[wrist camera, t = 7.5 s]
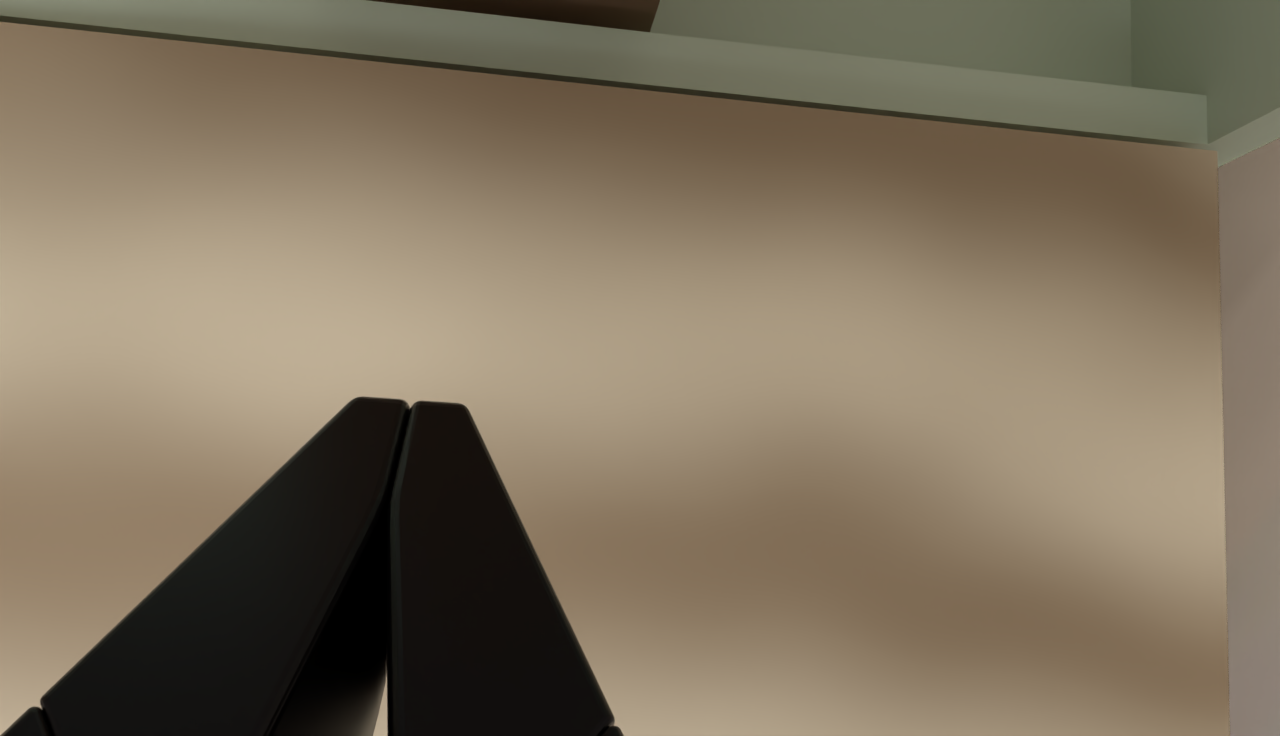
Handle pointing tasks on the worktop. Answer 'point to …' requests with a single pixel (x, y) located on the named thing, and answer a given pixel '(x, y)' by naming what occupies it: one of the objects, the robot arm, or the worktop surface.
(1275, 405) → the worktop surface
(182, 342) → the bench plate
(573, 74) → the box
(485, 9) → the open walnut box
